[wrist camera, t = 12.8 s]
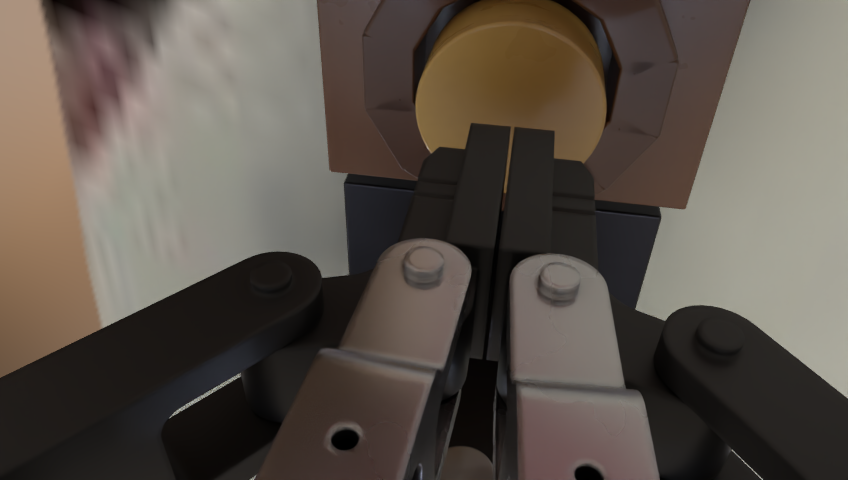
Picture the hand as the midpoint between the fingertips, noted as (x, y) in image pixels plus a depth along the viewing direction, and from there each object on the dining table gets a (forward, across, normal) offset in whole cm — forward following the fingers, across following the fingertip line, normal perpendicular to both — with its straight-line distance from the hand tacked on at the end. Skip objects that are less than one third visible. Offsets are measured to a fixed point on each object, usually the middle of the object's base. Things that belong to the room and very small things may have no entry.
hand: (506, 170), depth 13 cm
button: (+4, 0, 0) cm, 4 cm away
